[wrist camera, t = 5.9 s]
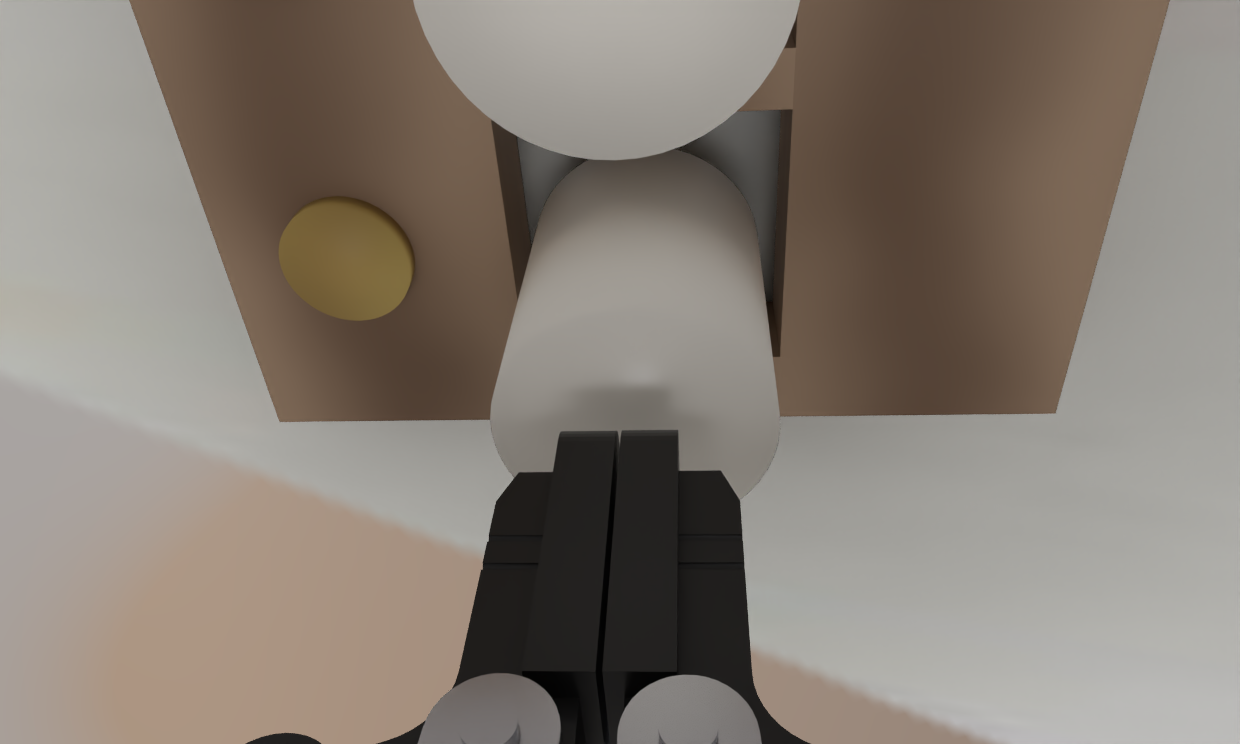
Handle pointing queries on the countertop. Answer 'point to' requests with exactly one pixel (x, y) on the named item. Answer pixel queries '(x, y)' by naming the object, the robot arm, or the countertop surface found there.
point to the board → (805, 218)
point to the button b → (608, 66)
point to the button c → (642, 321)
